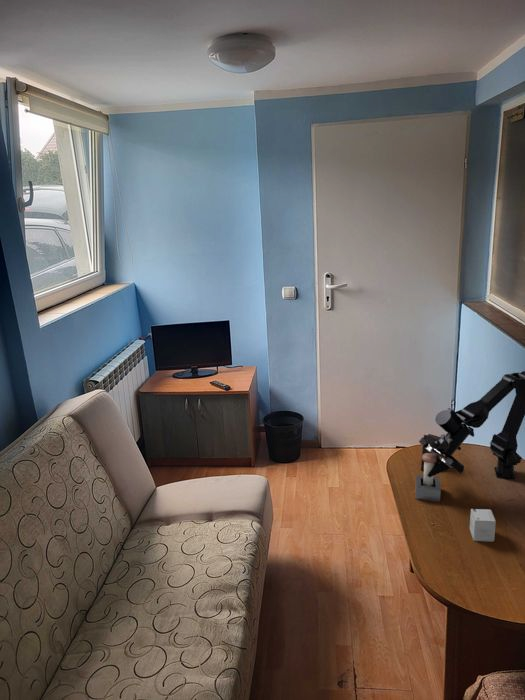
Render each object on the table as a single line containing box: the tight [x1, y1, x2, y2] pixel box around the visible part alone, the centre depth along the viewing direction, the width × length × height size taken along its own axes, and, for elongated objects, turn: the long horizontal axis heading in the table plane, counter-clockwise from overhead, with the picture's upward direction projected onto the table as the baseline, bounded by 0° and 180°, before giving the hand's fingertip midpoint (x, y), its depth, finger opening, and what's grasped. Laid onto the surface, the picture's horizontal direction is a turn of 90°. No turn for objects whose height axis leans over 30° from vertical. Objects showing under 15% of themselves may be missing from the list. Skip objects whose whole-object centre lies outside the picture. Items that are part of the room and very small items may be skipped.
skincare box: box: [469, 508, 497, 542], centre depth 158 cm, size 6×6×7 cm
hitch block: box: [415, 475, 442, 502], centre depth 181 cm, size 8×8×4 cm
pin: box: [421, 453, 437, 487], centre depth 179 cm, size 5×5×13 cm
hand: (425, 473), depth 179 cm, fingers closed on pin, 3 cm apart
